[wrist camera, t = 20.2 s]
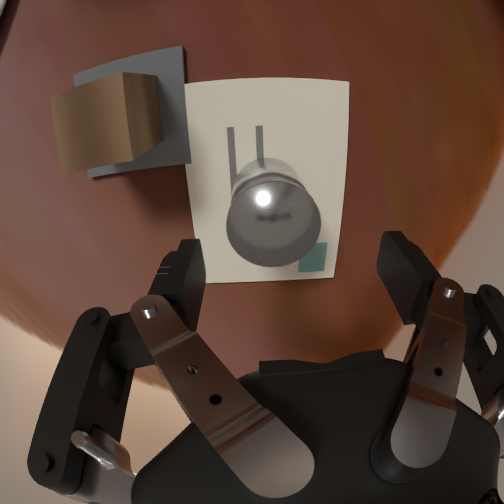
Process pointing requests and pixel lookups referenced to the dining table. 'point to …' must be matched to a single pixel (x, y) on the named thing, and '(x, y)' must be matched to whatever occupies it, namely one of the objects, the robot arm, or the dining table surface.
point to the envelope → (266, 146)
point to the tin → (271, 214)
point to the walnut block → (106, 121)
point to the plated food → (2, 5)
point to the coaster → (168, 78)
